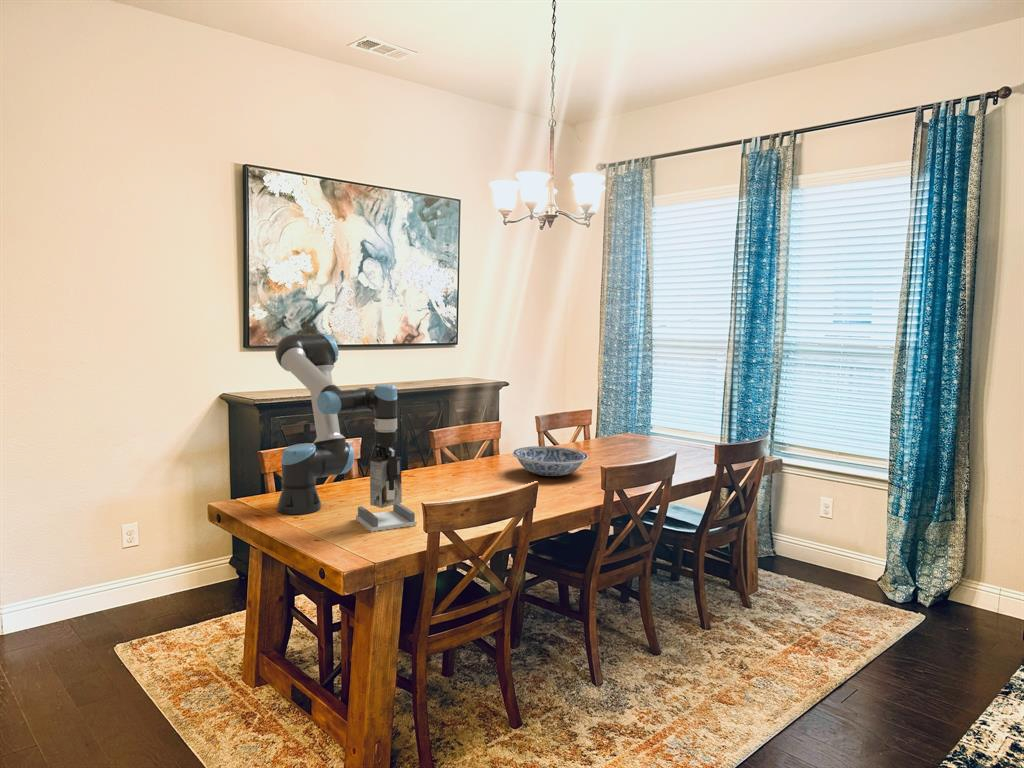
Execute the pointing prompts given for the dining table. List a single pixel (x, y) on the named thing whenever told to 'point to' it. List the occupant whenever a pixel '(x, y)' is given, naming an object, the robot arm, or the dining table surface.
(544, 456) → the ceramic bowl
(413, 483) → the dining table surface
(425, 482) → the dining table surface
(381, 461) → the coffee box
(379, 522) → the guide cradle
